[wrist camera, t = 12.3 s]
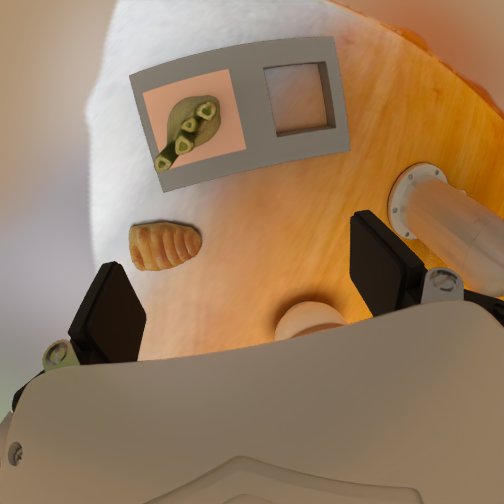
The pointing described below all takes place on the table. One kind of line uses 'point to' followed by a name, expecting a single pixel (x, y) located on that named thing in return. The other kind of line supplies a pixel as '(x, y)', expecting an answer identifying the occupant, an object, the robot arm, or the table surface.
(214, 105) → the fennel bulb
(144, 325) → the robot arm
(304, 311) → the lidded bowl
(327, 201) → the table surface
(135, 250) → the pastry
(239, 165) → the holder board
